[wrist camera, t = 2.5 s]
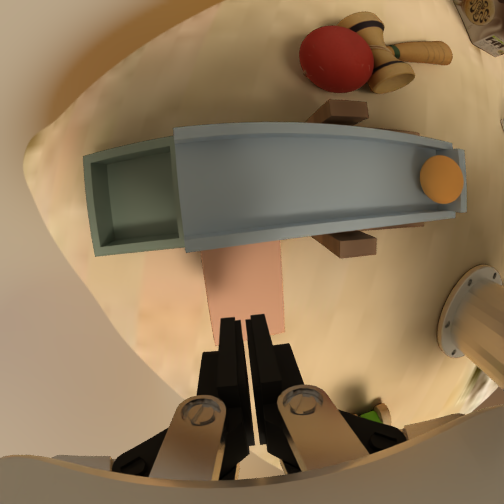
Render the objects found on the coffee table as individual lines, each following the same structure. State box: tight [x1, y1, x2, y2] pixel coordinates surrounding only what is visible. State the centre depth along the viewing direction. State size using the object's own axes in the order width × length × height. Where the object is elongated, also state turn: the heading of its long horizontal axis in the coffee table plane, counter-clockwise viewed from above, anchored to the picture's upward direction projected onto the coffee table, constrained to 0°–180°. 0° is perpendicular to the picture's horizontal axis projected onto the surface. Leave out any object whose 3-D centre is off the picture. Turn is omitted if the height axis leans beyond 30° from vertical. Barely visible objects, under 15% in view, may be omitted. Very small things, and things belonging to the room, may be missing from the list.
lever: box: [173, 122, 467, 346], centre depth 16 cm, size 20×12×4 cm, turn 94°
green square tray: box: [83, 136, 185, 257], centre depth 20 cm, size 8×8×4 cm
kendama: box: [299, 12, 453, 94], centre depth 17 cm, size 8×6×18 cm
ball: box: [420, 155, 464, 204], centre depth 15 cm, size 4×4×4 cm
